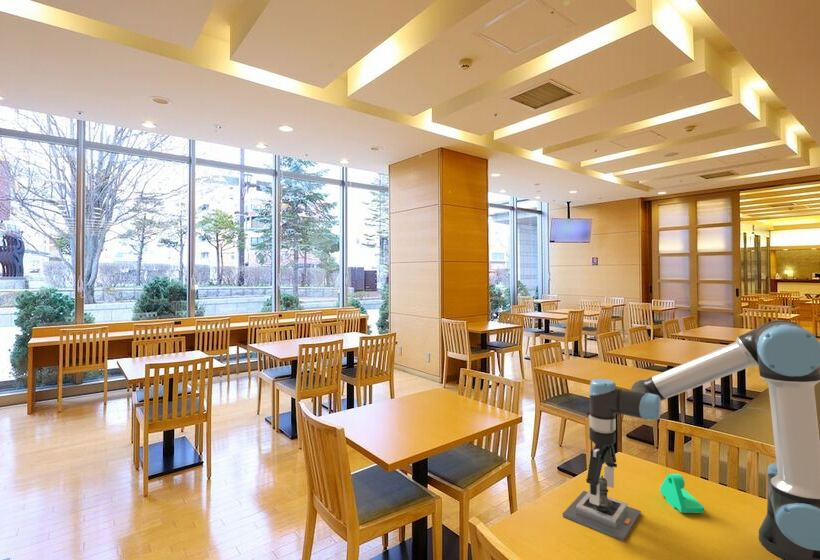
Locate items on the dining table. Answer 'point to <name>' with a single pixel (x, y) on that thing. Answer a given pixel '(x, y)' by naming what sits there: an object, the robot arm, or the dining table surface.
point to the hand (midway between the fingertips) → (602, 494)
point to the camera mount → (679, 495)
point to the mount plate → (603, 516)
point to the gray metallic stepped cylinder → (603, 498)
